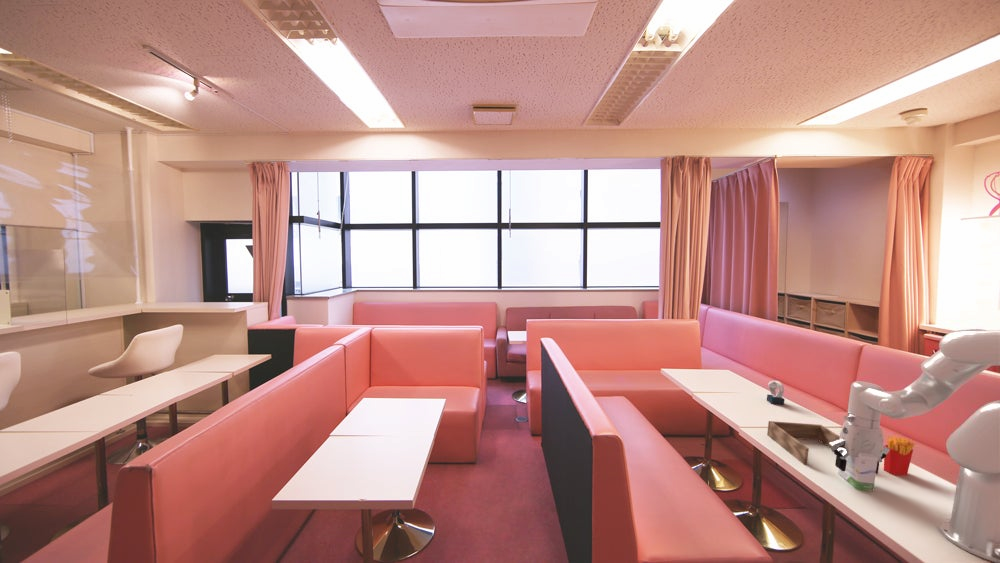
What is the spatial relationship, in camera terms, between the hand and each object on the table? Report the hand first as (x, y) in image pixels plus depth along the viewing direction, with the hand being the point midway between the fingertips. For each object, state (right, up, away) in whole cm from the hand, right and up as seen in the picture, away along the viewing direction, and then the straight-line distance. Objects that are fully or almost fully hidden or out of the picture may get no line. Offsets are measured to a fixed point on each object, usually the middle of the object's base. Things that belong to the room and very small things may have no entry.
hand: (856, 470), depth 118 cm
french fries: (+20, -4, +7) cm, 22 cm away
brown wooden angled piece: (+2, -2, +18) cm, 18 cm away
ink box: (0, -4, 0) cm, 4 cm away
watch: (+21, +1, +62) cm, 65 cm away
